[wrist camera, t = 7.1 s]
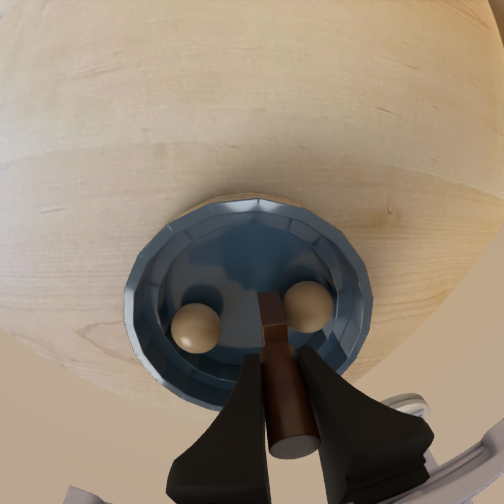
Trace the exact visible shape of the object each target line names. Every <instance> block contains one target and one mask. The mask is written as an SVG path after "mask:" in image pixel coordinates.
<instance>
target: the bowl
mask: <svg viewBox="0 0 504 504" xmlns="http://www.w3.org/2000/svg"><path fill="white" fill-rule="evenodd" d="M303 281H313V282H316V283H319V284H321V285H322V286H324V287H325V288H326V289H327V290H328V292H329V293H330V295H331V297H332V300H333V313H332V316H331V319H330V320H329V322H328V323H327V324H326V325H325V326H324V327H323V328H322V329H320V330H318V331H316V332H313V333H301V332H298V331H295V330H294V329H292V328H291V327H290V326H289V325H288V332H289V343H290V344H291V345H292V346H293V347H294V348H295V351H296V354H297V358H298V348H304V347H310V346H311V347H312V348H314V350H315V351H316V352H317V353H318V354H319V355H320V356H321V358H322V359H323V360H324V361H325V362H326V363H327V364H328V365H329V366H330V367H331V368H332V369H333V370H334V371H335V372H337V373H338V374H339V375H340V376H341V375H342V374H343V373H344V372H345V371H346V370H347V369H348V367H349V366H350V365H351V364H352V363H353V362H354V361H355V359H356V357H357V355H358V353H359V351H360V349H361V347H362V345H363V343H364V341H365V339H366V337H367V335H368V332H369V329H370V322H371V314H372V305H373V295H372V291H371V287H370V282H369V278H368V275H367V271H366V267H365V264H364V262H363V261H362V259H361V258H360V256H359V255H358V254H357V252H356V251H355V249H354V248H353V247H352V245H351V244H350V242H349V241H348V240H347V238H346V237H345V236H344V234H343V233H342V232H341V231H339V230H338V229H336V228H335V227H333V226H332V225H330V224H329V223H327V222H326V221H324V220H323V219H321V218H320V217H318V216H317V215H315V214H313V213H312V212H310V211H309V210H307V209H306V208H304V207H302V206H300V205H299V204H297V203H295V202H294V201H291V200H289V199H284V198H280V197H276V196H271V195H267V194H262V193H258V192H248V193H238V194H229V195H220V196H217V197H213V198H211V199H209V200H206V201H204V202H202V203H200V204H198V205H196V206H194V207H192V208H190V209H188V210H186V211H184V212H182V213H181V214H179V215H178V216H177V217H175V218H174V219H173V220H172V221H170V222H169V223H168V224H166V225H165V226H164V227H163V228H162V230H161V231H160V232H159V233H158V234H157V235H156V236H155V237H154V238H153V239H152V240H151V241H150V242H149V243H148V244H147V245H146V246H145V247H144V248H143V250H142V251H141V252H140V253H139V255H138V256H137V258H136V261H135V263H134V265H133V268H132V270H131V273H130V275H129V278H128V281H127V283H126V286H125V289H124V325H125V328H126V331H127V334H128V336H129V339H130V342H131V345H132V347H133V350H134V352H135V355H136V356H137V358H138V359H139V360H140V362H141V363H142V364H143V365H144V367H145V368H146V369H147V370H148V372H149V373H150V374H151V375H152V377H153V378H154V379H155V380H156V381H157V382H159V383H160V384H161V385H163V386H164V387H166V388H167V389H168V390H170V391H171V392H173V393H174V394H175V395H177V396H178V397H180V398H182V399H183V400H186V401H188V402H191V403H193V404H196V405H199V406H201V407H204V408H207V409H209V410H213V411H219V412H220V411H221V410H222V408H223V407H224V405H225V403H226V402H227V400H228V398H229V396H230V394H231V392H232V390H233V388H234V386H235V383H236V381H237V379H238V376H239V373H240V370H241V367H242V363H243V358H244V356H245V355H249V354H258V353H259V352H260V350H261V349H262V348H263V345H262V336H261V326H260V316H259V307H258V297H257V293H263V292H272V291H278V292H279V295H280V298H281V302H282V300H283V297H284V295H285V293H286V292H287V291H288V290H289V288H291V287H292V286H293V285H295V284H297V283H299V282H303ZM190 303H201V304H205V305H207V306H209V307H211V308H212V309H213V310H214V311H215V312H216V313H217V315H218V316H219V318H220V321H221V324H222V334H221V337H220V340H219V342H218V343H217V344H216V346H215V347H213V348H212V349H211V350H209V351H207V352H204V353H190V352H187V351H185V350H183V349H182V348H180V347H179V346H178V345H177V343H176V342H175V340H174V339H173V336H172V333H171V322H172V319H173V316H174V315H175V313H176V312H177V311H178V310H179V309H180V308H181V307H183V306H185V305H187V304H190Z"/></svg>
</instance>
